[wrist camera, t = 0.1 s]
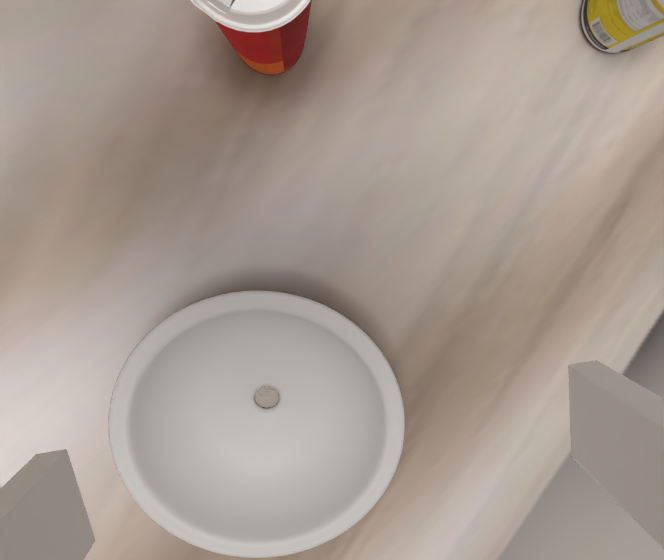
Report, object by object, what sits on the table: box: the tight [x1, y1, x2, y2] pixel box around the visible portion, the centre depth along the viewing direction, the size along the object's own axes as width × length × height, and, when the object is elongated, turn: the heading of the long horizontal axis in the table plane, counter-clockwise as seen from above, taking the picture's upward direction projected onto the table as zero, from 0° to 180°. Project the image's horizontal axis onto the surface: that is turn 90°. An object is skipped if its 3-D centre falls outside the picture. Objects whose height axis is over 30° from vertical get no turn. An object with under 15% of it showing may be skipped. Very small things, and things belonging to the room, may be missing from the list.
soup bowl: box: [108, 290, 405, 558], centre depth 37 cm, size 24×24×7 cm
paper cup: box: [191, 0, 312, 74], centre depth 27 cm, size 8×8×14 cm
